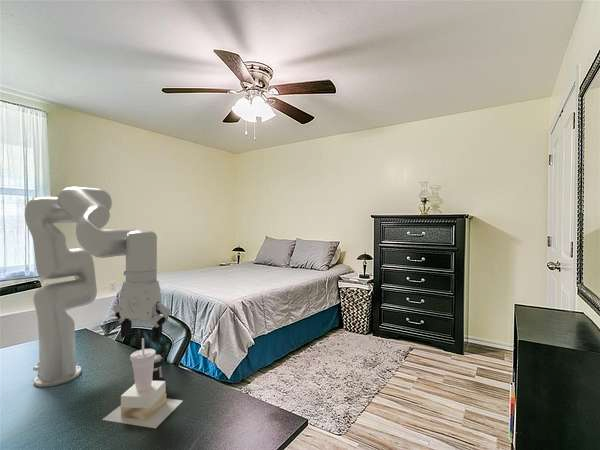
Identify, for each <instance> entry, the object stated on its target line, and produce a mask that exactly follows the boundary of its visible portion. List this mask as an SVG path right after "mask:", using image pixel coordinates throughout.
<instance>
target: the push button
mask: <svg viewBox="0 0 600 450" xmlns="http://www.w3.org/2000/svg"><path fill="white" fill-rule="evenodd" d="M164 361H165V356H164V357H163V356H162V355H161V354H156V356H155V358H154V367H153V376H152V381H165V382H166V379H165V378H164V377H163V375H162V366H163V365H164V363H165V362H164Z"/></svg>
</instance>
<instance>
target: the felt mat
mask: <svg viewBox="0 0 600 450" xmlns="http://www.w3.org/2000/svg"><path fill="white" fill-rule="evenodd" d="M182 403H183V399H182V400H181V399H173V398H167V397H166V404H165V405H164V406H163V407H162V408H161V409H159V410H158V411H157V412H156V413H155V414H154V415H153V416H152V417H151V418H150V419H149V420H148V421H144V420H138V419H132V418H125V417H121V404H120V405H119V406H118V407H116V408H115V409H114V410H112V411H111V412H110V413H109V414H107V415H106V416H104V417H103V418H102V419H101V420H102V421H106V422H107V421H108V422H112V423H120V424H126V425H133V426H139V427H145V428H151V429H157V428H158V427H159V425H161V423H163V422H164V421H165V420H166V418H167V417H168V416H169V415H171V413H172V412H174V411H175V410H176V408H178V406H180V405H181V404H182Z"/></svg>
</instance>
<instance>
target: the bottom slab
mask: <svg viewBox="0 0 600 450" xmlns="http://www.w3.org/2000/svg"><path fill="white" fill-rule="evenodd" d="M166 398H167V392H166V391H165V393H164V394H163V395H162V396H161V397H160V398H159V399H158V400H157V402H156V403H155V404H154V405H153V406H152V407H151V408H128V407H121V417H125V418H132V419H138V420H144V421H148V420H149V419H150V418H151V417H152V416H153V415H154V414H155V413H156V412H157V411H158V410H159V409H161V408H162V407H163V406H164V405H165V404H166Z"/></svg>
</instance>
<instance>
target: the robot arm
mask: <svg viewBox="0 0 600 450" xmlns="http://www.w3.org/2000/svg"><path fill="white" fill-rule="evenodd" d="M112 205H113V201H112V197H111V195H110V193H109V192H107V191H106V190H104V189H103V188H94V187H93V188H92V187H83V186H82V187H81V186H80V187H79V186H70V187H66V188H64V189H61V190H60V191H59V192H58V194H57V196H41V197H34V198H32V199H30V200H29V201H28V202H27V203H26V205H25V208H24V220H25V224H26V226H27V229H28V230H29V233H30V235H31V239H32V242H33V252H34V258H35V259H34V261H35V268H36V272H37V275H38V277H39V278H40V279H43V280H56V279H57V280H58V279H63V278H70V277H74V279H72V280H66V281H65V280H64V281H60V282H54V283H49V284H48V283H47V284H46V285H43V286H41V287H39V288H37V290H35V292H34V294H33V304H34V309H35V312H36V318H37V326H38V327H37V328H38V329H37V331H38V332H37V333H38V357H39V358H38V359H39V362H38V363H37V364H36V365H35V366H33V369H32V370H33V371H35V372H36V371H37V375H36V376H35V377H34V379H33V385H34V386H36V387H39V388H42V387H43V388H47V387H54V386H59V385H62V384H65V383H68V382H70V381H72V380H74V379H76V378H77V377H79V376H80V374H81V373H82V367H81V366H80V365H77V362H76V360H77V359H76V330H75V329H76V328H75V327H76V326H75V325H76V323H75V321H74V319H73V318H72V317H71V315H69V314H68V313H67V311H68V310H71V309H75V308H79V307H80V308H81V307H84V306H87V305H89V304H92V303H93V302H94V301H95V300H96V297H97V294H98V293H97V292H98V290H97V289H98V288H97V281H96V279H97V278H96V272H95V263H94V258H93V257H95V258H99V259H105V258H113V257H120V256H125V270H124V271H123V276H124V277H125V280H124V281H123V282H122V285H121V290H120V295H119V296H120V297H119V302H118V303H116V304H114V305H112V308H113V309H112V310H114V313H115V317H116V318H117V319H118V324H120V338H121V339H124V338H126V337H128V336H130V335H131V334H132V320H133V321H145V322H148V321H150V322H151V323H152V325H153V327H152V328H151V342H152V343H156V342H157V341H159V340H161V339H162V336H163V325H164V324H165V323H166V322H167V321H168V319H169V317H170V315H171V313H172V310H171V309H170V308H168V307H167V306H166V305H164V304H163V303H162V293H161V287H160V282H159V281H160V280H157V279H158V278H157V277H158V276H157V275H158V273H157V272H158V271H157V270H158V269H157V267H158V262H157V261H158V235H157V234H156V232H155V231H152V230H140V229H137V228H111V229H110V228H109V229H102V228H104V227H105V226H106V225H107V224H108V223H109V221H110V217H111V214H110V210H111V208H112ZM57 223H58V224H71V223H72V224H74V223H75V224H76V226H75V236H76V239H77V242H78V244H79V245H80V246H81V247H82V248H67V240H66V239H67V238H66V236H65V233H64V232H63V231H62V230H61V229H60V228H59V227H58V226H57V225H55V224H57ZM161 314H162V315H161Z"/></svg>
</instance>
